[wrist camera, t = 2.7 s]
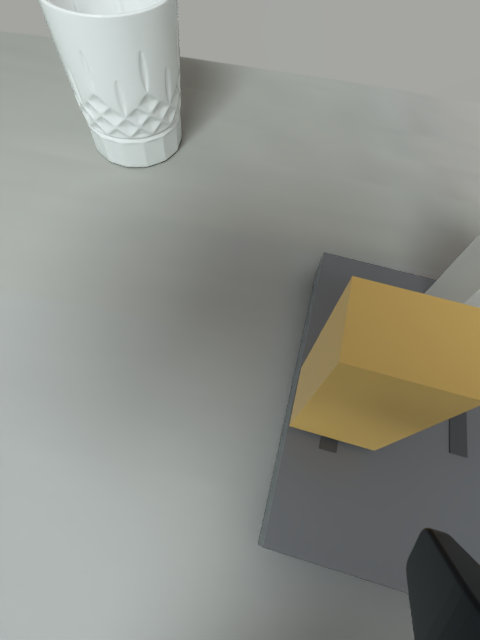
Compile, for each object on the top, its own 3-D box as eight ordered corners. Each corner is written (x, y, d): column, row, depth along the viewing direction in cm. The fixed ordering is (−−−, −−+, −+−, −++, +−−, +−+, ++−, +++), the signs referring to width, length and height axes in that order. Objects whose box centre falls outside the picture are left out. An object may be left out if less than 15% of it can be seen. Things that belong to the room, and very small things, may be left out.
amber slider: (374, 450, 17) (487, 402, 10) (289, 426, 17) (339, 362, 10) (380, 389, 18) (482, 308, 11) (301, 367, 19) (352, 276, 11)
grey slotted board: (514, 625, 16) (553, 639, 14) (258, 544, 17) (263, 547, 15) (493, 316, 23) (516, 299, 22) (316, 271, 24) (324, 251, 23)
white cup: (134, 99, 32) (102, -59, 23) (207, 134, 30) (203, -22, 22) (67, 146, 29) (1, -16, 20) (145, 189, 27) (111, 31, 18)
